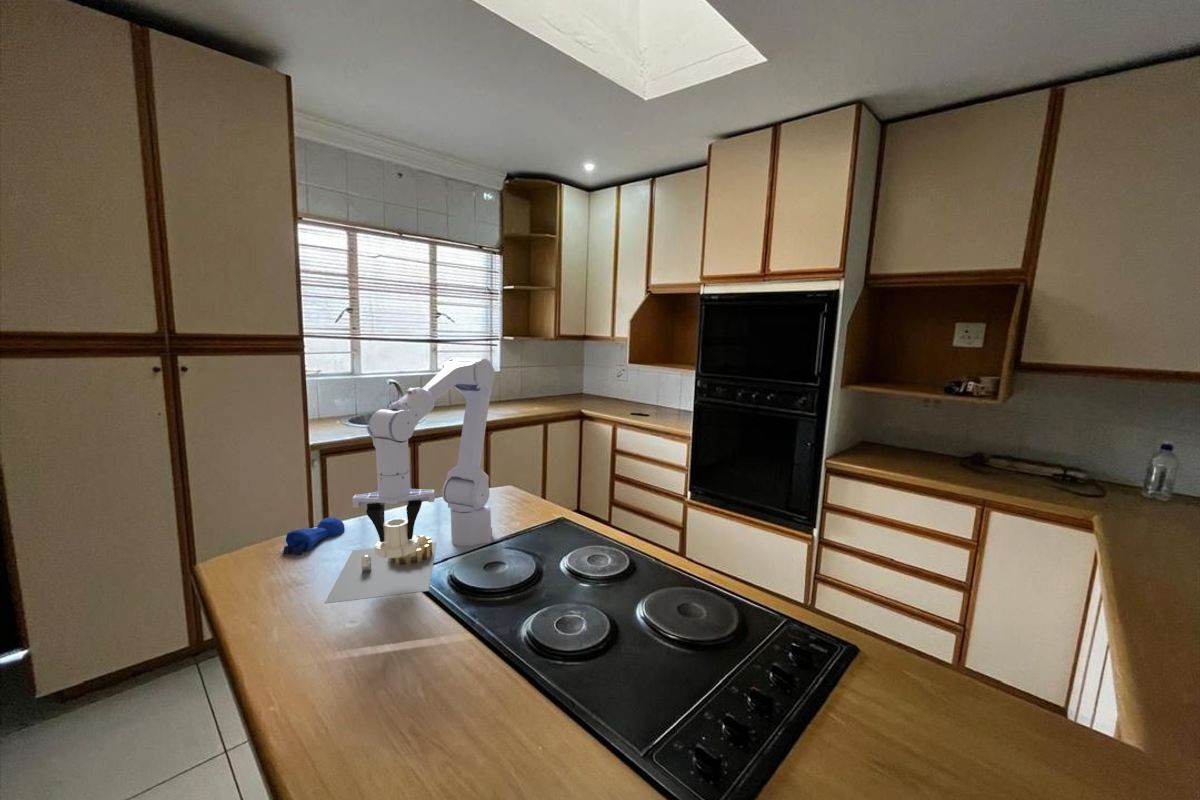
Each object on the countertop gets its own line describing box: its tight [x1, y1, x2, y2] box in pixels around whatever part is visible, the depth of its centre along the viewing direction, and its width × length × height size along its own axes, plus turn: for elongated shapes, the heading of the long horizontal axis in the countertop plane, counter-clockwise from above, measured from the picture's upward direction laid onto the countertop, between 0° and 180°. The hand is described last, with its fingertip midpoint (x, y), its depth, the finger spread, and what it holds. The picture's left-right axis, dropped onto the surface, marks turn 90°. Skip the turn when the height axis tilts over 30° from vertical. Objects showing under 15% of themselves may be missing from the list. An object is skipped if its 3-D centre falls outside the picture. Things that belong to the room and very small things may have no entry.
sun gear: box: [389, 534, 433, 566], centre depth 106 cm, size 9×9×4 cm
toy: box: [282, 516, 346, 556], centre depth 114 cm, size 7×6×15 cm
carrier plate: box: [324, 542, 437, 604], centre depth 101 cm, size 18×22×1 cm
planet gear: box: [374, 517, 419, 558], centre depth 95 cm, size 8×8×6 cm
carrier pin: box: [361, 555, 372, 573], centre depth 100 cm, size 2×2×3 cm
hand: (396, 538), depth 95 cm, fingers closed on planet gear, 4 cm apart
